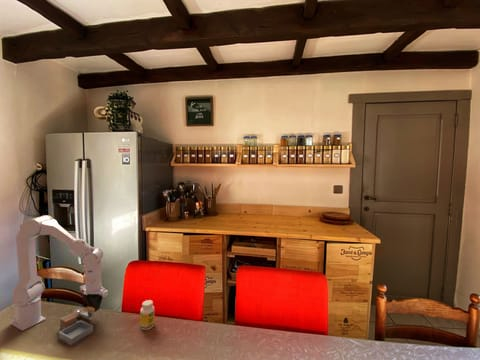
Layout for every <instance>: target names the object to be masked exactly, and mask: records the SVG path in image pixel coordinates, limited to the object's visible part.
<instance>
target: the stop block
mask: <svg viewBox="0 0 480 360" xmlns="http://www.w3.org/2000/svg"><path fill="white" fill-rule="evenodd" d="M77 319H78V318H77V316H75V315H74V314H72V312H71V313H69V314H66V315H65V316H62V317H60V318H59V329H60V331H62V330H63V329H65V328H67V327H69V326H71V325H73V324H74V323H76V322H78V321H77Z"/></svg>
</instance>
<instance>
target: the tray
mask: <svg viewBox="0 0 480 360" xmlns="http://www.w3.org/2000/svg"><path fill="white" fill-rule="evenodd" d="M93 333H94V325H92V324H90V323H88V322H87V321H84V320H81V319H80V320H78V321H77V322H76V323H74V324H73V325H71V326H69V327H67V328H65V329H63V330H60V331H58V340H60V341H62V342H64V343H66V344H68V345H69V346H71V347H72V346H73V345H75V344H76V343H78V342H80V341H82V340H83V339H85V338H86V337H88V336H89V335H91V334H93Z"/></svg>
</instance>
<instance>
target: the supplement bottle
mask: <svg viewBox="0 0 480 360" xmlns="http://www.w3.org/2000/svg"><path fill="white" fill-rule="evenodd" d="M141 306H142V307H140V312H139V314H140V315H139V327H140V329H141V330H143V331H148V330H150V329H152V328H153V327H154V326H155V306H154V302H153V300H151V299H149V300H148V299H146V300H145V301H143V302H142V304H141Z"/></svg>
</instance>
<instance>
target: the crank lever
mask: <svg viewBox="0 0 480 360" xmlns="http://www.w3.org/2000/svg"><path fill="white" fill-rule="evenodd" d="M86 310H87V311H84V308H83V307H79V308H75V309H74V310H72V312H71V313H72V314H74V315H75V316H77V319H79V318H81V317H82V318H85V319H87V320H89V319H91V318H92V317H93V316H94V310H95V308H93V307H90V306H88V305H87V307H86Z"/></svg>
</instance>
